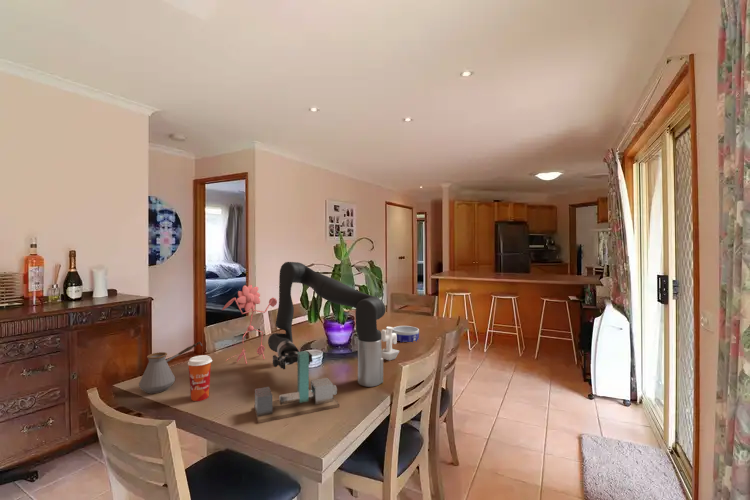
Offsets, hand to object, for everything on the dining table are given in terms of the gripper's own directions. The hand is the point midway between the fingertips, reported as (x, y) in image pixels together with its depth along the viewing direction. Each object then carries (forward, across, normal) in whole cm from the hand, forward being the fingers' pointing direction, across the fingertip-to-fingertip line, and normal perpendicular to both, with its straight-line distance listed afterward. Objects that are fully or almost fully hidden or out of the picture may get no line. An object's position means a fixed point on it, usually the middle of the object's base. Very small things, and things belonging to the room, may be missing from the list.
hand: (296, 364), depth 126 cm
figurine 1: (-48, -13, +11) cm, 50 cm away
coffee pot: (-26, -42, +11) cm, 50 cm away
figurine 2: (-21, +48, +11) cm, 54 cm away
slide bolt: (+10, +2, +8) cm, 14 cm away
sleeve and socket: (+10, -3, +9) cm, 14 cm away
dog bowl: (-47, +72, +11) cm, 87 cm away
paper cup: (-11, -32, +11) cm, 35 cm away
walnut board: (+10, -2, +10) cm, 15 cm away
